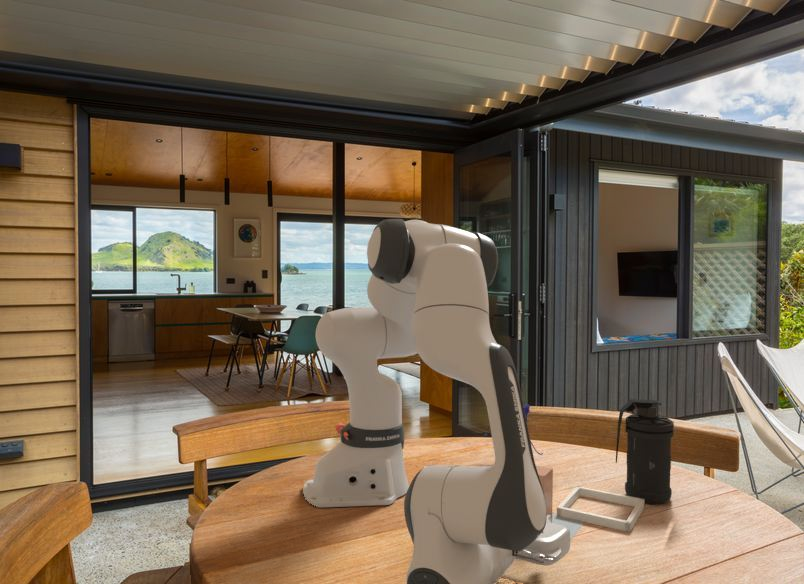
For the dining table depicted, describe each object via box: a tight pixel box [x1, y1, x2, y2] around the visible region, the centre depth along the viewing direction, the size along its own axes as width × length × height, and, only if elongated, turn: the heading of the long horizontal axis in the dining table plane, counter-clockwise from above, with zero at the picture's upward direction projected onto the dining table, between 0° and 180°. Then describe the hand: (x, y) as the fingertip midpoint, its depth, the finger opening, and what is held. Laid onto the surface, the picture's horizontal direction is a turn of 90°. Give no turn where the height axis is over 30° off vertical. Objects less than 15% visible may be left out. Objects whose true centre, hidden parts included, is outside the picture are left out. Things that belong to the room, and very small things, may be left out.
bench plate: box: [552, 512, 585, 541], centre depth 108 cm, size 14×14×2 cm
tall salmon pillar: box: [536, 465, 554, 523], centre depth 108 cm, size 4×4×10 cm
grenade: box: [615, 398, 675, 505], centre depth 125 cm, size 9×11×20 cm
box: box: [556, 485, 646, 533], centre depth 114 cm, size 13×13×3 cm
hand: (519, 512), depth 99 cm, fingers open, 8 cm apart
